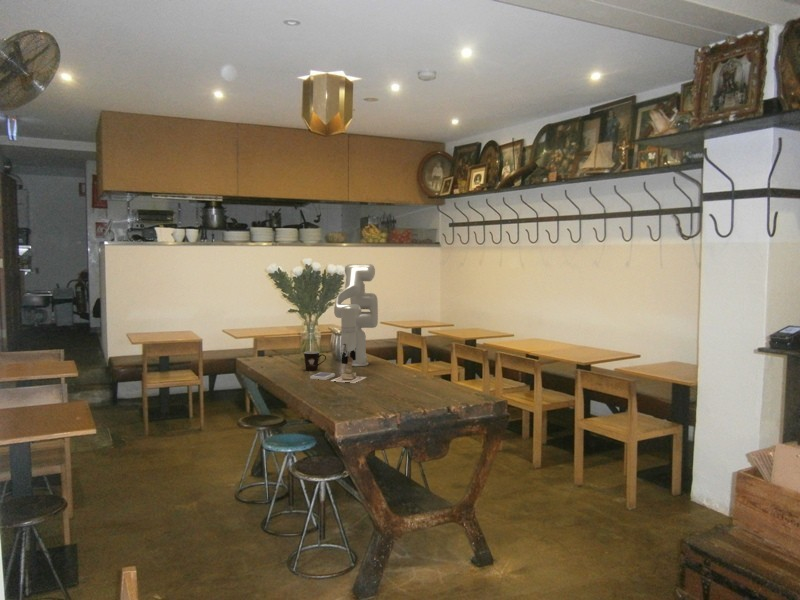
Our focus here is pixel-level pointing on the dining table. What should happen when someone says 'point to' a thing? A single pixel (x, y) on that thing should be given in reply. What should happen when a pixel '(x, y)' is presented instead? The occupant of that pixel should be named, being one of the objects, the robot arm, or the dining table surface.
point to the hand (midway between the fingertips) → (348, 361)
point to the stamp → (349, 371)
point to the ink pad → (322, 376)
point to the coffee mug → (312, 360)
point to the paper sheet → (349, 380)
